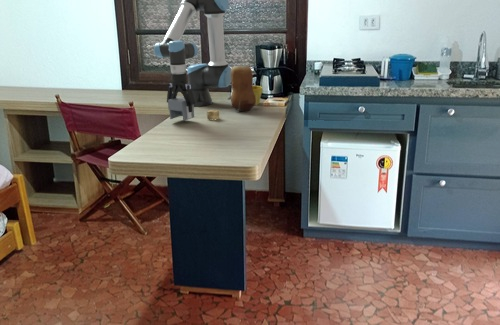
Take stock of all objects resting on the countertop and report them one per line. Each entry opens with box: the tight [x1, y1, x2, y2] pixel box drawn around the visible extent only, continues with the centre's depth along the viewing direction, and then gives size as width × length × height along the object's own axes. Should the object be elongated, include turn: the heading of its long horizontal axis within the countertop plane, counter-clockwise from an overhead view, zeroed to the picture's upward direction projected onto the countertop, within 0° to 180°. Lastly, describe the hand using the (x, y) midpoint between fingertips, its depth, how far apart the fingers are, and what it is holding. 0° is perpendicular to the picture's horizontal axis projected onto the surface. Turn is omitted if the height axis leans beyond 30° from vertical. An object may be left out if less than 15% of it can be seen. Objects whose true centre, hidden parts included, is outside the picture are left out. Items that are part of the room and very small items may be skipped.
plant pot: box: [252, 85, 263, 106], centre depth 284 cm, size 10×10×10 cm
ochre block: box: [206, 109, 220, 121], centre depth 252 cm, size 4×4×4 cm
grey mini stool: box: [167, 96, 195, 122], centre depth 246 cm, size 9×9×10 cm
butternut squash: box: [230, 64, 256, 112], centre depth 265 cm, size 14×13×25 cm
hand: (181, 117), depth 247 cm, fingers closed on grey mini stool, 9 cm apart
